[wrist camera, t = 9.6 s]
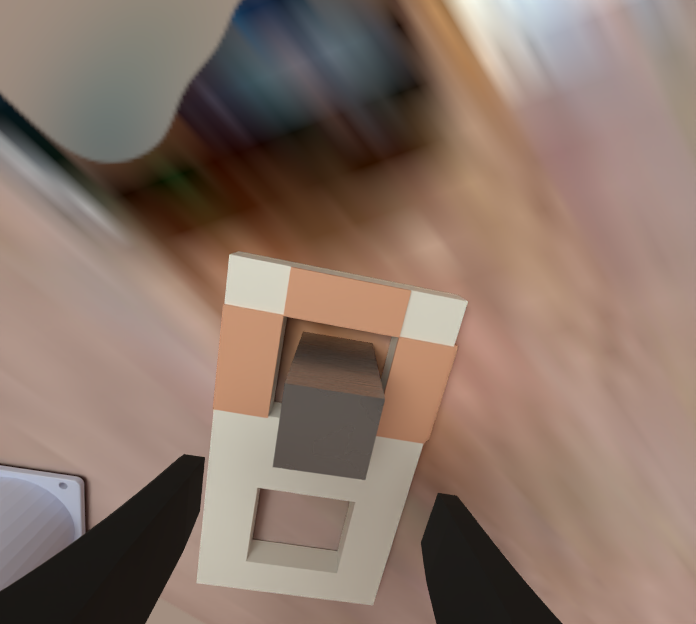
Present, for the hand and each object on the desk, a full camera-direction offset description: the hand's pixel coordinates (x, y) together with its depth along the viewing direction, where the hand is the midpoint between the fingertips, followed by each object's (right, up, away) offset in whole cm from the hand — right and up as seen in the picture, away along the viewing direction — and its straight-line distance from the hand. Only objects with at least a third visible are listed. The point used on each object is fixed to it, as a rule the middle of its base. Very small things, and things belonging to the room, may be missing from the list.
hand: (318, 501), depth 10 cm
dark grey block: (0, +2, +9) cm, 10 cm away
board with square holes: (-1, -3, +10) cm, 11 cm away
